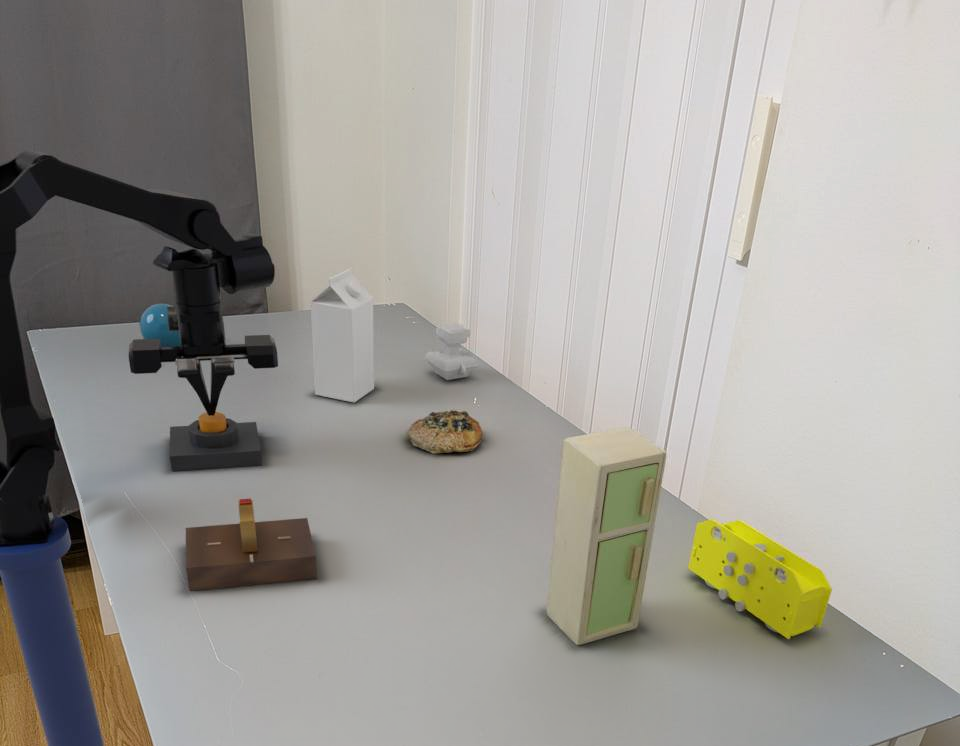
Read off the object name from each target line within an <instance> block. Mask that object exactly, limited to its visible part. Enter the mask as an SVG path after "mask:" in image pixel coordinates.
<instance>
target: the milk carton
mask: <svg viewBox="0 0 960 746" xmlns="http://www.w3.org/2000/svg"><path fill="white" fill-rule="evenodd" d="M310 318H311V319H310V320H311V338H312V339H311V340H312V358H313V376H314V394H315V395H316V396H320V397H324V398H330V399H334V400H340V401H343V402H344V401H345V402H347V403H348V402H349V403H356V402H357V401H359V400H360V399H362V398H363V397H365V396H366V395H368V394H370V393H371V392H372V391H373V390H374V389H375V359H374V358H375V350H374V348H375V346H374V345H375V343H374V297H373V296H372V295H371V294H370V292H369V291H368V289H366V288H365V287H364V286H363V284H362V283H361V282H360V281H359V280H358V278H357V277H356V276H355V275H354V268H353V267H350V268H348V269H347V270H344V271H342V272H340V273H338V274H336V275H333V276H331V277H329V278H328V286H327V287H326V288H325V289H324V290H322V291H321V292H320V293H319V294H318V295H317V296H316V297H315V298H313V299H312V300H311V301H310Z"/></svg>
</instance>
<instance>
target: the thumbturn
mask: <svg viewBox="0 0 960 746" xmlns="http://www.w3.org/2000/svg"><path fill="white" fill-rule="evenodd" d="M237 502H238V503H237V504H238V516H239V523H240V528H241V537H242V547H243V552H244V553H245V552H257V551H258V549H257V538H256V528H255V522H256V520H255V519H256V518H255V509H254V500H253V499H252V498H251V497H250V498H239V499H238V501H237Z"/></svg>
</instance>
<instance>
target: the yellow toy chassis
mask: <svg viewBox="0 0 960 746" xmlns="http://www.w3.org/2000/svg"><path fill="white" fill-rule="evenodd" d="M687 568H688V570H690V571H691V572H692V573H694V574H695V575H697V576H698V577H700V578H701V579H703V580H704V582H705V584H706V585H707V586H708V587H710V588H711V589H714V590H718V592H717V595H718V597H719V598H720V600H727V599H728V598H729V599H731V600H732V601H733V602H735V603H734V607H735V610H736V611H737V612H740V613H741V612H743V611H745V610H746V611H748V612H749V613H751V614H752V615H753V616H755V617H756V618H758V619H759V620H760V621H762V622H763V623H764V625H765V627H766V628H767V629H769V630H770V631H772V632H774V633H777V634H780V635H781V636H783V637H785V638H786V639H787V640H790V639H791V637H794V636H797V635H800V634H802V633H806V632H808V631H810V630H812V629H814V627H815V626H816V627H818V628H821V627H822V623H823V621H824V618H825V614H826V610H827V607H828V604H829V601H830V598H831V594H832V591H833V587H832V586H831V584H830V583H829V581H828V579H827V577H826V575H825V574H824V571H823V570H822V569H820V568H819V567H817V566H816V565H814V564H812V562H809V561H808V560H806V559H804V558H802V556H799V555H798V554H796V553H795V552H793V551H791V550H789V549H788V548H786V547H785V546H783V545H781V543H778V542H777V541H775V540H773V538H771V537H769V536H767V535H766V534H764V533H762V532H761V531H760V530H757V529H756V528H754V527H753V526H751V525H749V524H748V523H747V522H744V521H743V520H742V519H738V520H734V521H729V522H725V523H719V522H718V521H717V520H715V519H714V518H710V519H706V520H703V521H701V522H697V523H696V527H695V533H694V537H693V542H692V548H691V552H690V557H689V562H688V567H687Z"/></svg>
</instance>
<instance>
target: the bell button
mask: <svg viewBox="0 0 960 746" xmlns="http://www.w3.org/2000/svg"><path fill="white" fill-rule="evenodd" d="M226 418H227V417H226V414H224V413H222V412H218V411H216V412H215V415H214V416H212V415H211V416H209V415H208V414H207V412H204V413H202V414H200V415H199V416H198V420H199V425H200V430H201V431H202V432H208V433H213V432H220V431H224V430H226V429H227V425H226Z"/></svg>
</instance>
